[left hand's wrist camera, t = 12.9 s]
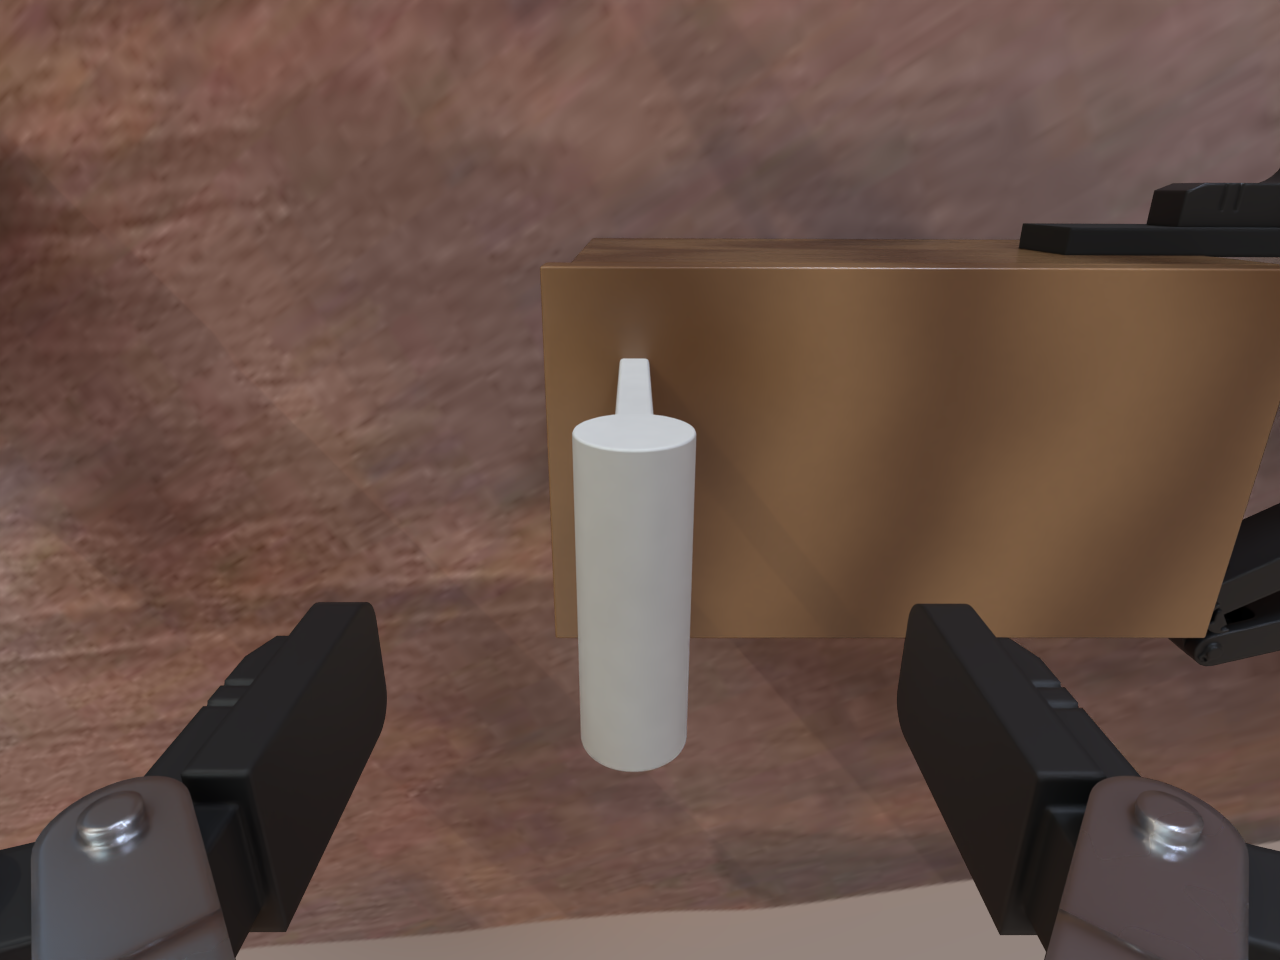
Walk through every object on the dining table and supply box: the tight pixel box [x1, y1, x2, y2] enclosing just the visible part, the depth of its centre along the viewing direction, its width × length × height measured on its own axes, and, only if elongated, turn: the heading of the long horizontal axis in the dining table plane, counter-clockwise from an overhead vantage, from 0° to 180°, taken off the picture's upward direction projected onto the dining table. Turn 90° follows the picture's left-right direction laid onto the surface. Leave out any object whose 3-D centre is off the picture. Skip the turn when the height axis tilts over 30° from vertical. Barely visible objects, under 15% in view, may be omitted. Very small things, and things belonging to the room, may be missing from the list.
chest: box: [571, 238, 1280, 265], centre depth 25 cm, size 17×10×10 cm, turn 90°
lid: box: [540, 262, 1280, 772], centre depth 16 cm, size 18×10×8 cm, turn 90°
